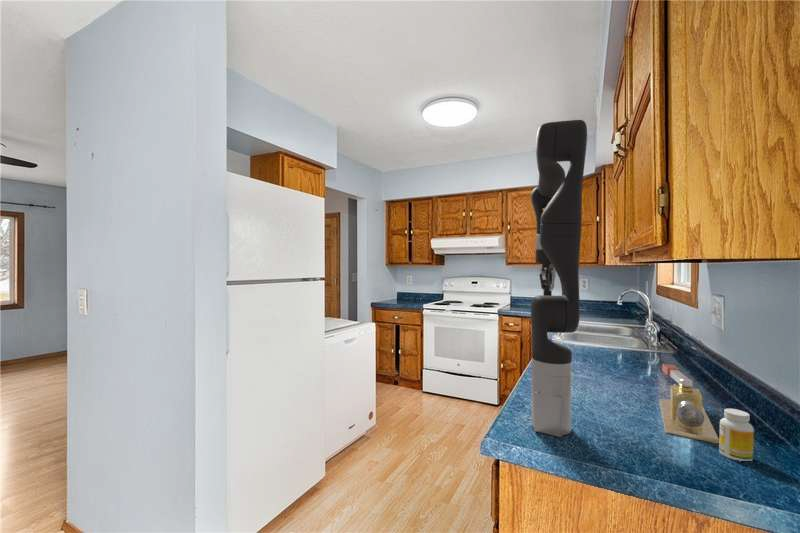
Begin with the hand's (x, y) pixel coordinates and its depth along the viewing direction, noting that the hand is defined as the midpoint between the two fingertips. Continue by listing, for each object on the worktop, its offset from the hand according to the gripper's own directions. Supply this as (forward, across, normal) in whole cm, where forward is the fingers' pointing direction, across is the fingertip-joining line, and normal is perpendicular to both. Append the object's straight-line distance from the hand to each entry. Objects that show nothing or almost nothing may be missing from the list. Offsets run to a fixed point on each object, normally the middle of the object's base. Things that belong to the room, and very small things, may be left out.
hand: (547, 302), depth 115 cm
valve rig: (+29, -1, -35) cm, 45 cm away
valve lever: (+20, +6, -34) cm, 40 cm away
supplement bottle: (+29, -18, -42) cm, 54 cm away
